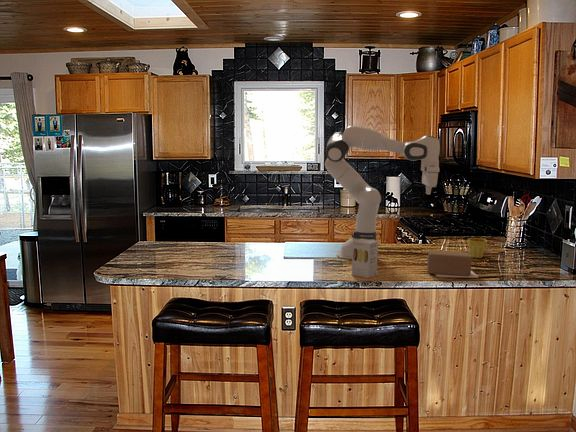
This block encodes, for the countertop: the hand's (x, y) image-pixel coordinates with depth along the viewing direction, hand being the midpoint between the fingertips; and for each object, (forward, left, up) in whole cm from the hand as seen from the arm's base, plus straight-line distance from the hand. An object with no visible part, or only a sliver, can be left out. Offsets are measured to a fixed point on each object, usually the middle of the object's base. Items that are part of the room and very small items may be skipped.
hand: (428, 194), depth 296 cm
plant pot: (+34, +23, -37) cm, 55 cm away
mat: (+11, -18, -37) cm, 43 cm away
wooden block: (-2, -19, -32) cm, 37 cm away
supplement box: (-34, -27, -37) cm, 57 cm away
